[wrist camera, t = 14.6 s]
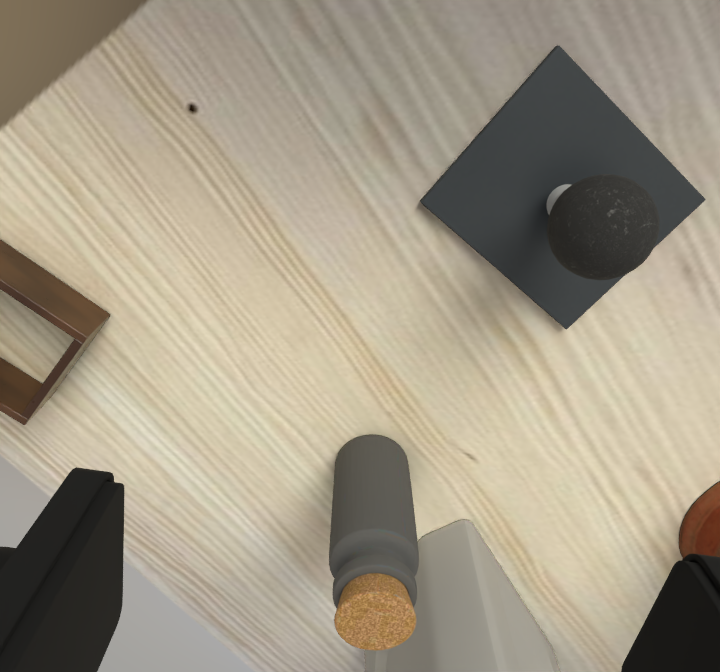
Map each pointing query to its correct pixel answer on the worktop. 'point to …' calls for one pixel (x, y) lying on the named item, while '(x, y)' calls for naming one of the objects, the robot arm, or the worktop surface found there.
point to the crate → (59, 306)
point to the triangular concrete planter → (465, 614)
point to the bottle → (373, 544)
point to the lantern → (702, 526)
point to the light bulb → (602, 226)
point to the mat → (550, 180)
